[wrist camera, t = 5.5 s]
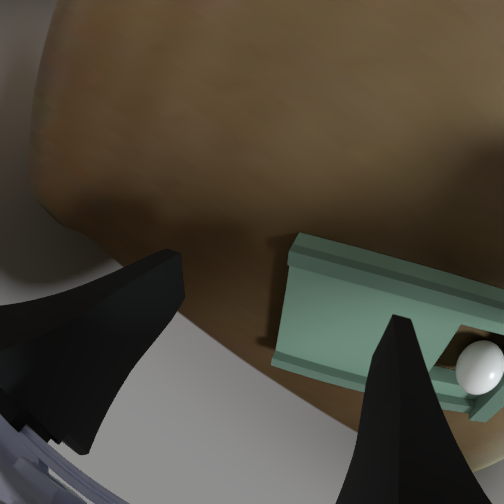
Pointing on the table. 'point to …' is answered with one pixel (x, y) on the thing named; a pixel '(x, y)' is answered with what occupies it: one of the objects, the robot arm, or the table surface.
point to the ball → (480, 367)
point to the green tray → (379, 317)
